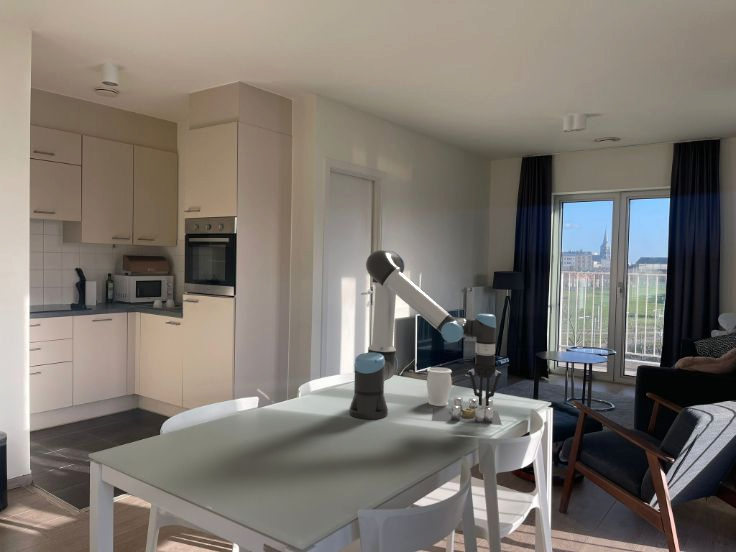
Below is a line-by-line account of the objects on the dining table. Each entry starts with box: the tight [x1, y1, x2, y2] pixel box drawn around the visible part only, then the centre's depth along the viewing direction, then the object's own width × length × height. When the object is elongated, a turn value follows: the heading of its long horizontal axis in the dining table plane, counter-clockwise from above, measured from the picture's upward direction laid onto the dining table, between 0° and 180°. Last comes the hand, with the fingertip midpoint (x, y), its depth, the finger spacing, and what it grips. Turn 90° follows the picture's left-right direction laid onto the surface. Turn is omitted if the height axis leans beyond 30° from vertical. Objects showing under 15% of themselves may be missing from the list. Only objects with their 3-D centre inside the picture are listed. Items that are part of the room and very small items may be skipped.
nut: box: [462, 407, 475, 418], centre depth 223 cm, size 4×5×2 cm
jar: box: [426, 367, 453, 407], centre depth 242 cm, size 11×10×15 cm
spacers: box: [450, 396, 494, 424], centre depth 223 cm, size 17×19×5 cm
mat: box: [431, 406, 503, 426], centre depth 224 cm, size 26×19×1 cm
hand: (483, 413), depth 223 cm, fingers closed
